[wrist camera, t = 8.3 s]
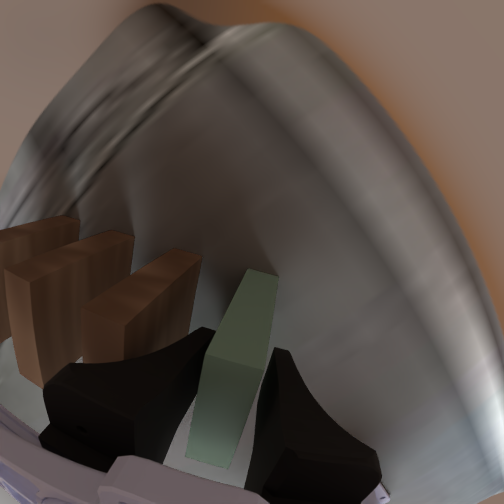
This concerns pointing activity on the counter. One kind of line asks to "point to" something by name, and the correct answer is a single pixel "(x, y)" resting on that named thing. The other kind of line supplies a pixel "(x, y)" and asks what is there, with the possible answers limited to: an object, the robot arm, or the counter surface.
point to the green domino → (232, 371)
